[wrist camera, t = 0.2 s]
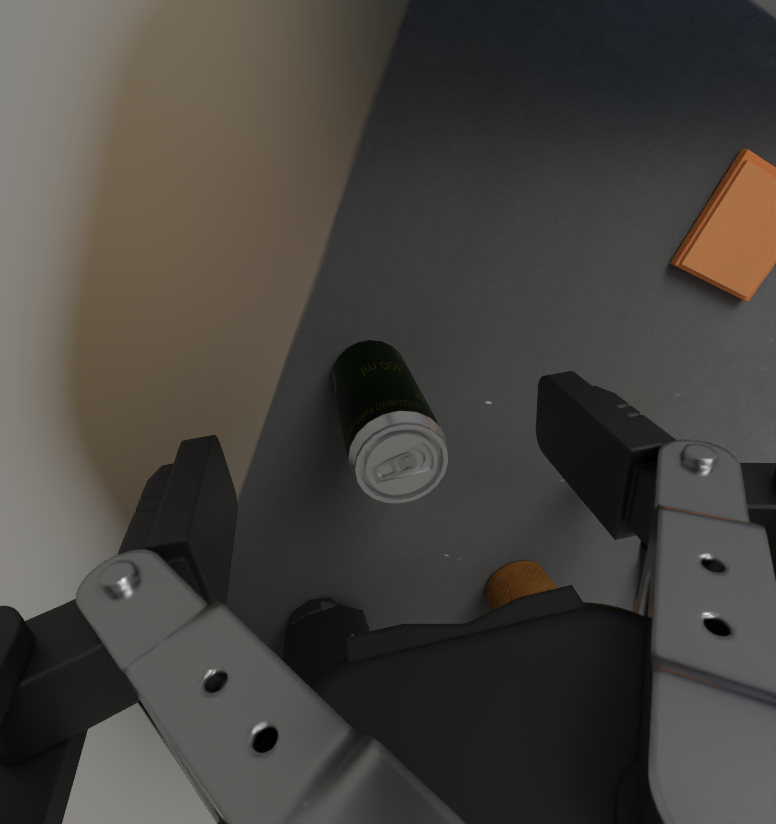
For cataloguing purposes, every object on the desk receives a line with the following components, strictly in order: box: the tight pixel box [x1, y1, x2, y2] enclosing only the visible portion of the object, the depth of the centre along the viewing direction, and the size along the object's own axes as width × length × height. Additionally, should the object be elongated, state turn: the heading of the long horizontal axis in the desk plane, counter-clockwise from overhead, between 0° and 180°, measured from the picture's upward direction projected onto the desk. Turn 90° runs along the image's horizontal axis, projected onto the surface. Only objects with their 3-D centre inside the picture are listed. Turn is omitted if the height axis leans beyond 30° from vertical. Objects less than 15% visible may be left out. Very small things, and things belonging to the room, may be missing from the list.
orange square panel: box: [670, 149, 776, 302], centre depth 36 cm, size 8×8×1 cm
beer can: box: [332, 340, 448, 503], centre depth 31 cm, size 5×5×12 cm
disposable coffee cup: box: [486, 561, 558, 611], centre depth 45 cm, size 10×10×12 cm
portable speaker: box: [282, 597, 370, 684], centre depth 39 cm, size 9×9×20 cm
